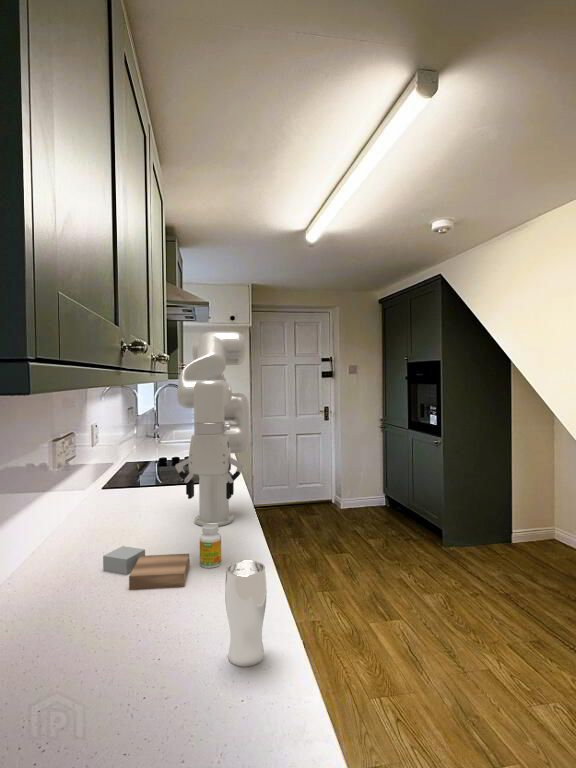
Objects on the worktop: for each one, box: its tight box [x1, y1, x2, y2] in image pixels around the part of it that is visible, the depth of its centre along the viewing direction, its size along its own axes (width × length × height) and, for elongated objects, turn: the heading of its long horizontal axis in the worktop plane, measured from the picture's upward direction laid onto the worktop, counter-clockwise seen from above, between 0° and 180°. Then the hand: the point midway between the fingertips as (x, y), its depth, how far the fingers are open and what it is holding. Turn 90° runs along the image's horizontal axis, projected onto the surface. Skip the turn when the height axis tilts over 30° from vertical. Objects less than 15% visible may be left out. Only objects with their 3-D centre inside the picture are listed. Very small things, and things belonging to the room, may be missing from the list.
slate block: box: [102, 545, 146, 576], centre depth 116 cm, size 7×7×4 cm
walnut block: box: [128, 553, 191, 591], centre depth 110 cm, size 12×12×3 cm
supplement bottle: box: [199, 524, 222, 569], centre depth 117 cm, size 5×5×10 cm
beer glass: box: [224, 559, 267, 668], centre depth 79 cm, size 7×7×15 cm
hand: (210, 497), depth 117 cm, fingers open, 9 cm apart
